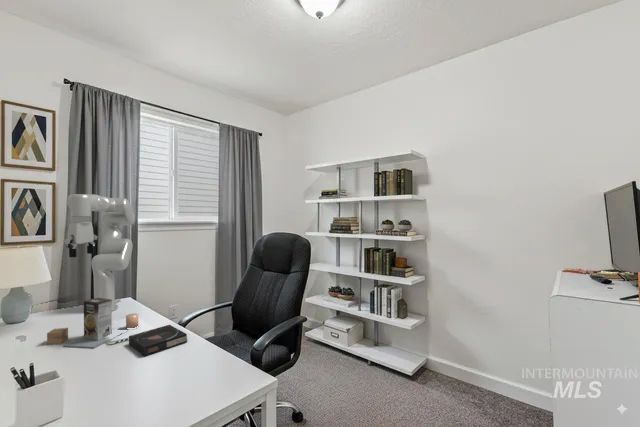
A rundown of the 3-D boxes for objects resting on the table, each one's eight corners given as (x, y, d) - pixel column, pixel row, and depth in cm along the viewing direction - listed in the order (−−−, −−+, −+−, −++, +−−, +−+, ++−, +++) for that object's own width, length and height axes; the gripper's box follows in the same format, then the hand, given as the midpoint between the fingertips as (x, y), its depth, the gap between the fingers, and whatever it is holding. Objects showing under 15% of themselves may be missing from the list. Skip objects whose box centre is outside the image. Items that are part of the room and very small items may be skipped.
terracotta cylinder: (131, 325, 146) (131, 313, 146) (140, 325, 145) (140, 313, 145) (123, 329, 141) (123, 316, 141) (133, 330, 141) (133, 317, 140)
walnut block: (54, 340, 130) (54, 328, 130) (68, 339, 131) (68, 327, 131) (47, 345, 125) (47, 333, 125) (61, 343, 126) (61, 332, 126)
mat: (100, 329, 141) (100, 328, 141) (127, 331, 139) (127, 329, 139) (63, 346, 123) (63, 345, 123) (94, 348, 121) (94, 346, 121)
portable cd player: (144, 358, 114) (144, 347, 114) (128, 345, 125) (128, 336, 125) (187, 343, 126) (187, 334, 126) (169, 333, 138) (169, 324, 137)
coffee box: (83, 338, 130) (82, 300, 130) (98, 332, 136) (98, 296, 136) (97, 341, 127) (97, 303, 127) (112, 335, 133) (112, 298, 133)
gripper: (89, 218, 154) (90, 252, 154) (56, 221, 136) (57, 258, 137) (102, 219, 153) (103, 252, 154) (72, 221, 136) (73, 258, 136)
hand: (82, 255), depth 145 cm, fingers open, 9 cm apart
